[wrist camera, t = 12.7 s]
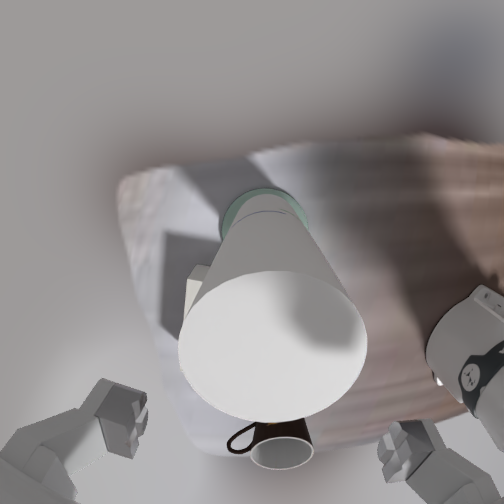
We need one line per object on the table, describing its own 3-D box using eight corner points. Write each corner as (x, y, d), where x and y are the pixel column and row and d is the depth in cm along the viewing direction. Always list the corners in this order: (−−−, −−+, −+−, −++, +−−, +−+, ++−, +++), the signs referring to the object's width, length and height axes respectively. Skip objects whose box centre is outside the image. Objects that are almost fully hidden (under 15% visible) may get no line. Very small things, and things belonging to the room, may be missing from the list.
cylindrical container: (237, 191, 34) (176, 260, 10) (301, 197, 34) (388, 279, 10) (233, 251, 36) (181, 412, 12) (293, 257, 36) (340, 423, 12)
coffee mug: (313, 390, 42) (322, 438, 32) (298, 425, 45) (302, 471, 35) (238, 380, 42) (232, 429, 32) (229, 416, 44) (223, 463, 35)
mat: (315, 197, 34) (316, 197, 34) (297, 277, 37) (298, 279, 36) (229, 181, 34) (229, 181, 33) (217, 263, 37) (216, 265, 36)
